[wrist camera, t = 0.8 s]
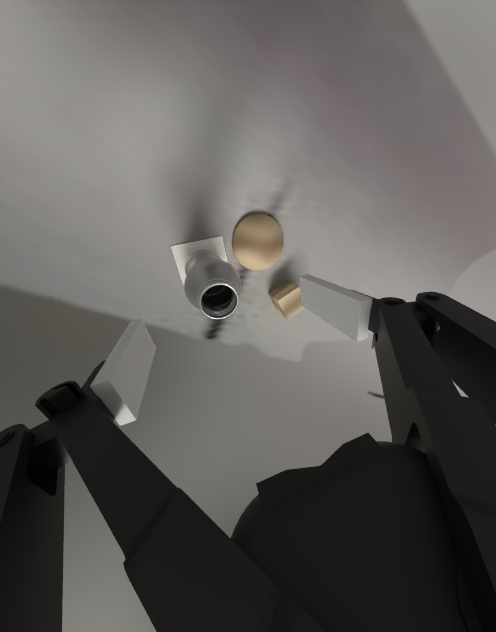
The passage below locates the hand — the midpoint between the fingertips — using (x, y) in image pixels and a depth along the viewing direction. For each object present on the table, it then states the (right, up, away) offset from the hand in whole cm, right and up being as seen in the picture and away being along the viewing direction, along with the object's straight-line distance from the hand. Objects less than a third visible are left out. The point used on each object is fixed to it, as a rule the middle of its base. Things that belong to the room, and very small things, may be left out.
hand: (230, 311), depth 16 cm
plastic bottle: (-7, +9, +20) cm, 23 cm away
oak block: (+9, +4, +27) cm, 29 cm away
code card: (-7, +9, +20) cm, 23 cm away
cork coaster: (+3, +13, +21) cm, 25 cm away
